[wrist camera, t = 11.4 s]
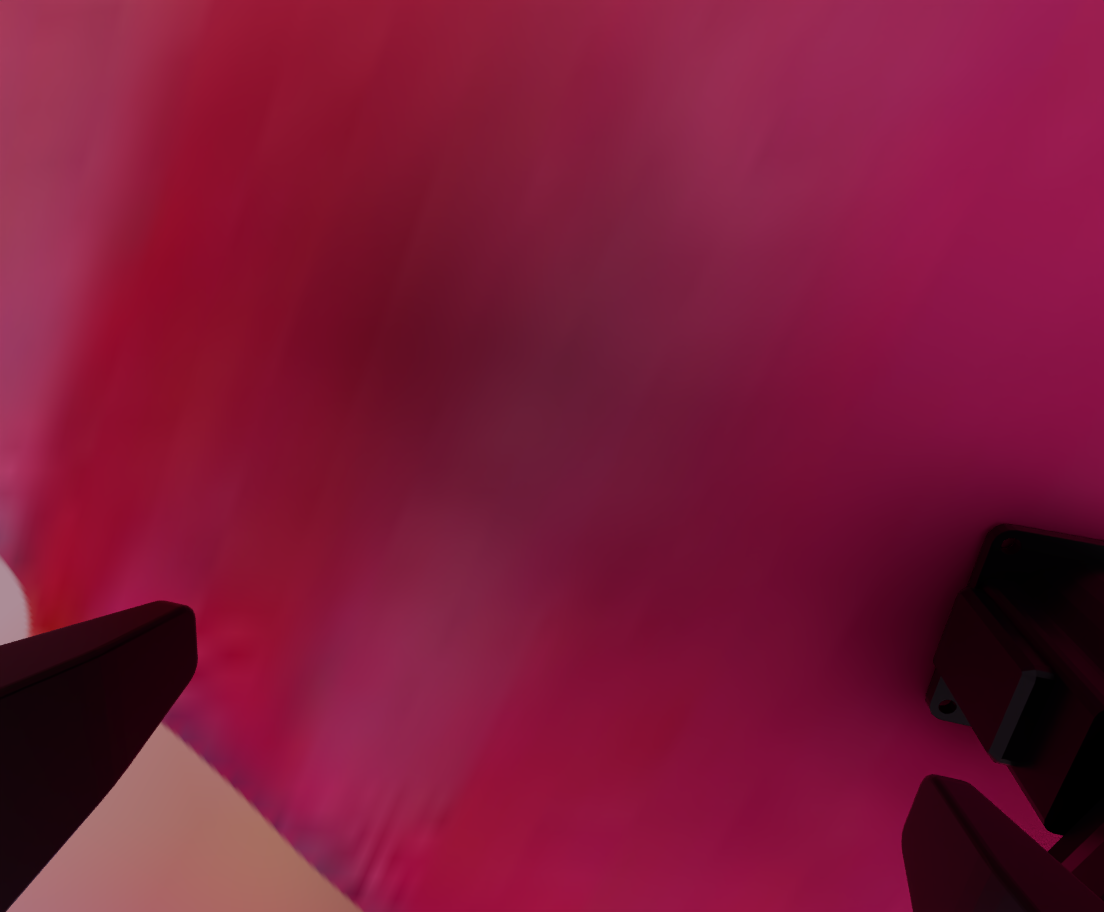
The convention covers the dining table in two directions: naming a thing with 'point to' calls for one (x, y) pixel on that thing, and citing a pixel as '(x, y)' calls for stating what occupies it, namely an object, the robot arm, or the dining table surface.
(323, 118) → the dining table surface
